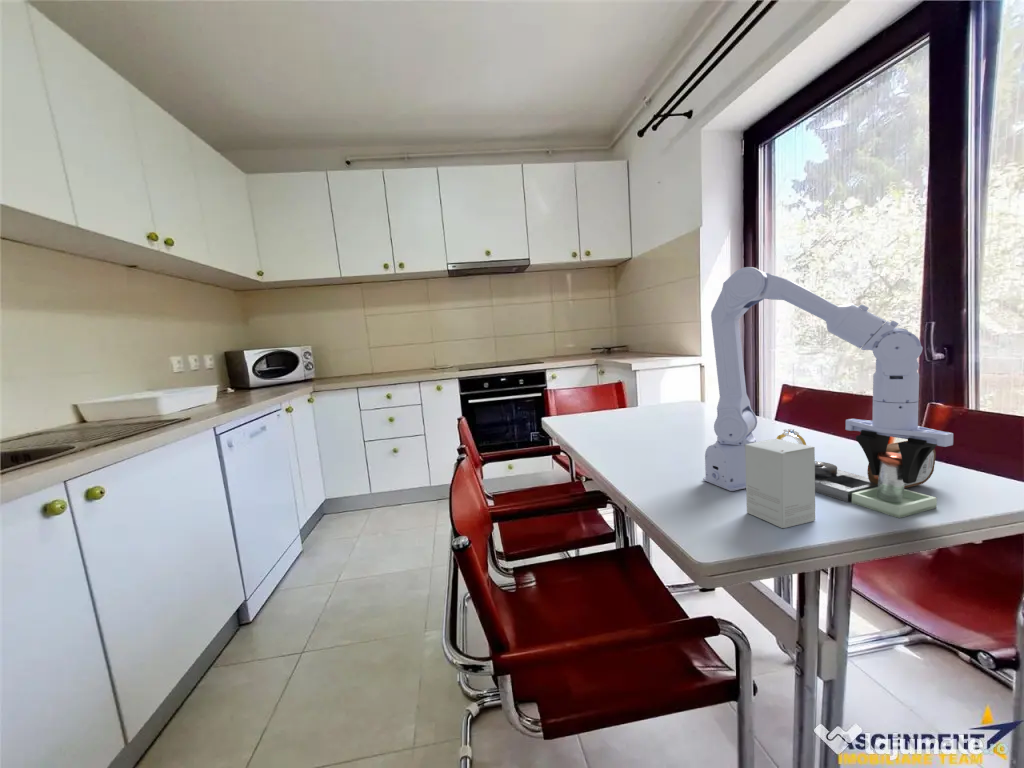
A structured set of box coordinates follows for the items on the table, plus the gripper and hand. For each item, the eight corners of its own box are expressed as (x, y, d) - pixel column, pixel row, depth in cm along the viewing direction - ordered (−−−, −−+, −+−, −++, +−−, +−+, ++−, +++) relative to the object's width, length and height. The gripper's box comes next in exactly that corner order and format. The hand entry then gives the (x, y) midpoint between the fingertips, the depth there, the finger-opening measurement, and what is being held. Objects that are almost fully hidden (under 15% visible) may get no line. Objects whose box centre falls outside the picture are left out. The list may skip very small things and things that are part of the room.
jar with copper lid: (894, 505, 70) (899, 461, 69) (867, 495, 74) (871, 454, 73) (911, 501, 71) (917, 458, 70) (884, 491, 75) (888, 450, 74)
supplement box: (817, 521, 69) (817, 446, 67) (782, 529, 67) (781, 453, 65) (777, 505, 76) (776, 437, 74) (744, 512, 74) (743, 443, 72)
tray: (899, 518, 68) (899, 507, 67) (851, 502, 74) (851, 493, 74) (936, 507, 70) (936, 497, 70) (887, 493, 77) (887, 484, 77)
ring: (773, 459, 101) (772, 427, 100) (784, 458, 102) (784, 426, 101) (797, 467, 94) (797, 433, 93) (809, 466, 95) (809, 431, 94)
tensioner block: (847, 502, 75) (847, 479, 74) (786, 482, 86) (786, 462, 86) (886, 492, 78) (886, 471, 77) (821, 474, 89) (821, 455, 89)
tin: (919, 477, 82) (920, 436, 81) (939, 482, 79) (940, 439, 78) (865, 490, 78) (865, 446, 77) (884, 496, 75) (885, 450, 74)
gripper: (967, 402, 65) (964, 487, 66) (864, 393, 78) (863, 463, 80) (937, 408, 63) (934, 494, 64) (837, 397, 76) (836, 469, 78)
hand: (893, 478), depth 72 cm, fingers closed on jar with copper lid, 4 cm apart
